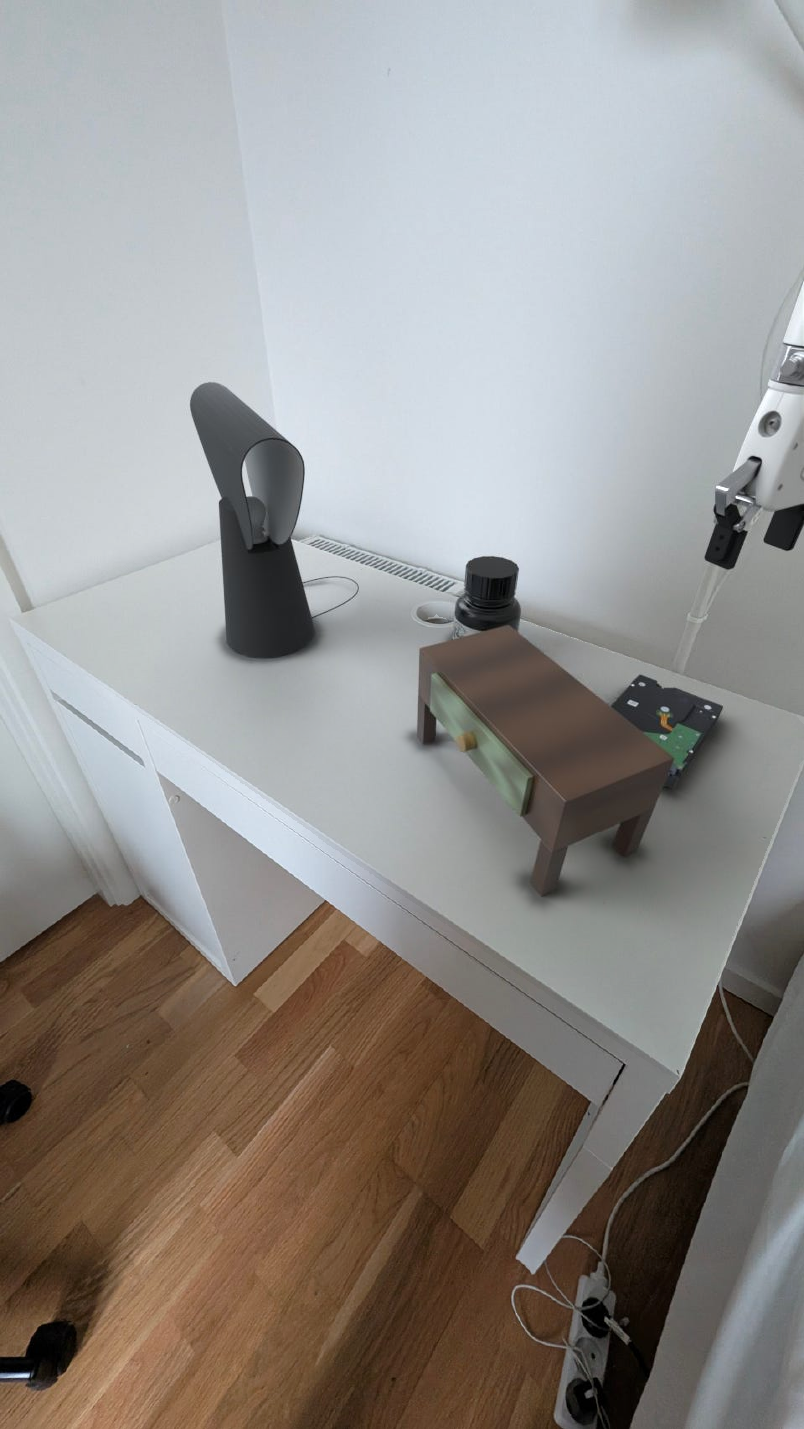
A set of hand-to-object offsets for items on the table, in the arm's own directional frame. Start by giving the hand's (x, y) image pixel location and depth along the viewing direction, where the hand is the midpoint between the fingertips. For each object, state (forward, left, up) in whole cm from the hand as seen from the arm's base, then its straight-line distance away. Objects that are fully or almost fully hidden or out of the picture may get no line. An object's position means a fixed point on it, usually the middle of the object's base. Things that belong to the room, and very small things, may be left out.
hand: (748, 555), depth 62 cm
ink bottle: (+21, +18, -19) cm, 33 cm away
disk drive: (-4, +11, -19) cm, 22 cm away
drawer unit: (-4, +30, -19) cm, 35 cm away
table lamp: (+43, +41, -19) cm, 63 cm away
